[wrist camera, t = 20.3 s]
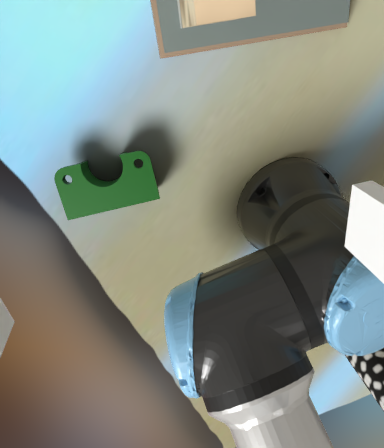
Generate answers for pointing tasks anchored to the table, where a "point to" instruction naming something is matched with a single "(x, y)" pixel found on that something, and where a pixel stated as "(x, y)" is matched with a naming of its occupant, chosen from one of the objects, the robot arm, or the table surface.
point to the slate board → (246, 25)
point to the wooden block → (213, 11)
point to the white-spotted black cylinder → (371, 372)
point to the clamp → (106, 187)
